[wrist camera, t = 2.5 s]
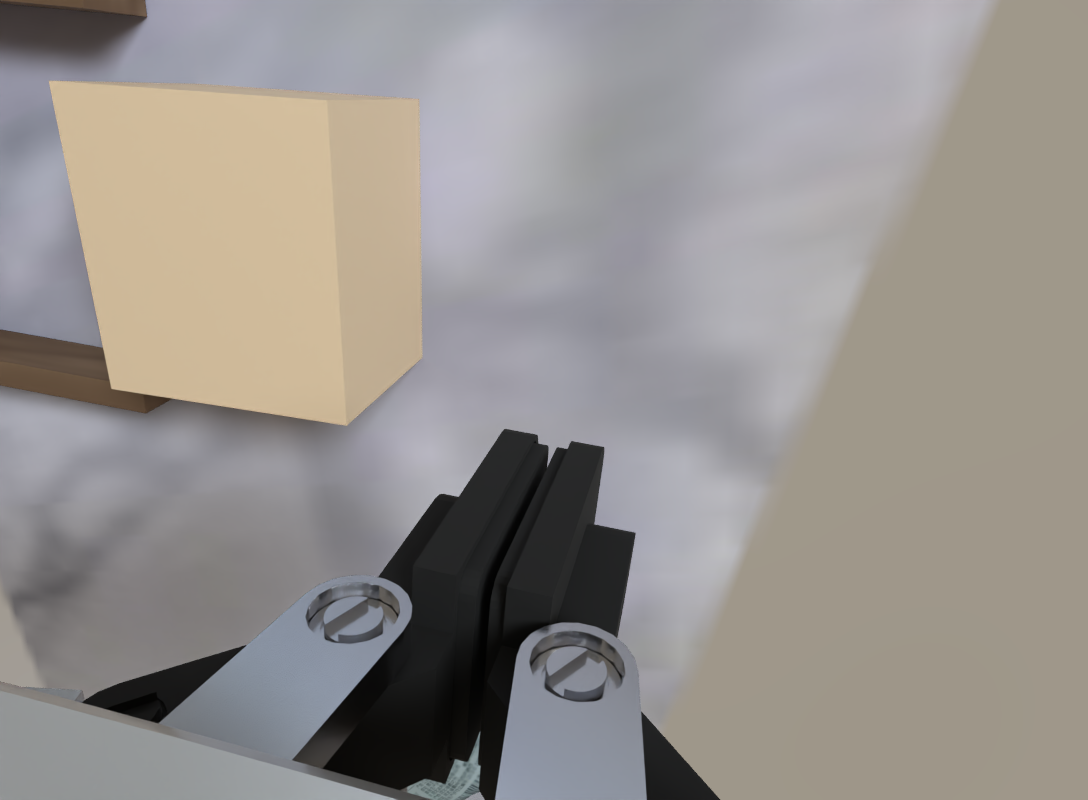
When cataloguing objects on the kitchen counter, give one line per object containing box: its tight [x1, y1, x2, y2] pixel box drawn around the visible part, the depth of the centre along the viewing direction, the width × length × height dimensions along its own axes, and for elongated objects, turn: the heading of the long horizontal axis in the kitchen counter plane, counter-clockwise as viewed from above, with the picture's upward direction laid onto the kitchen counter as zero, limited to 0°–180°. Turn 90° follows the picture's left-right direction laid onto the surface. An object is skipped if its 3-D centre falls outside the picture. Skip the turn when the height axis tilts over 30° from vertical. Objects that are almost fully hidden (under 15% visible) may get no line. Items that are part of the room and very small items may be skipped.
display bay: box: [0, 0, 173, 413], centre depth 29 cm, size 16×12×3 cm
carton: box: [49, 81, 422, 426], centre depth 26 cm, size 10×9×7 cm
